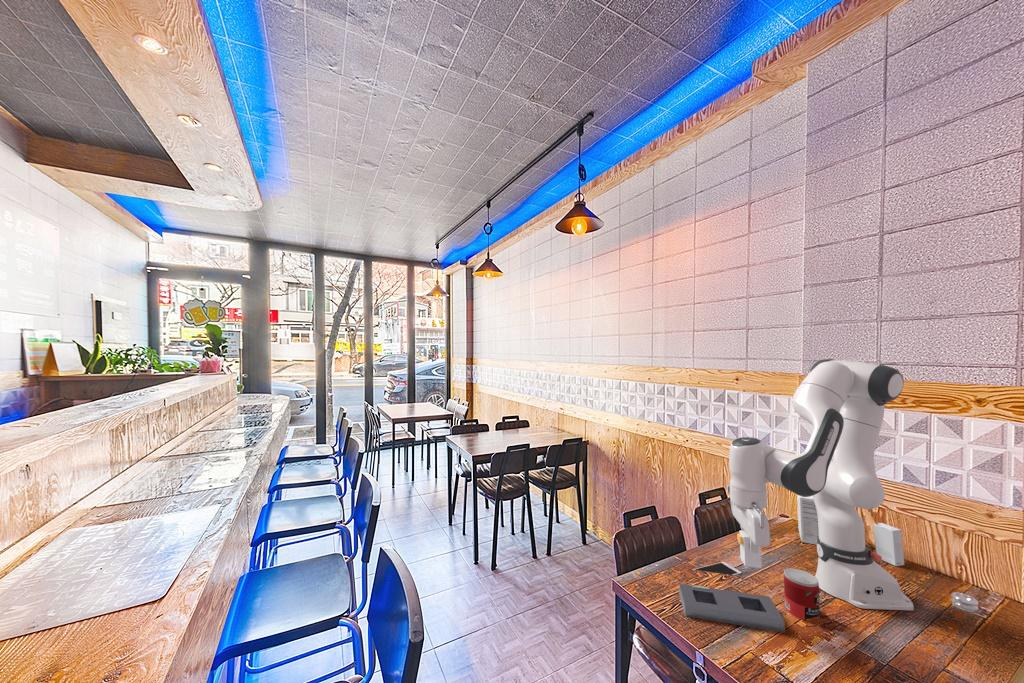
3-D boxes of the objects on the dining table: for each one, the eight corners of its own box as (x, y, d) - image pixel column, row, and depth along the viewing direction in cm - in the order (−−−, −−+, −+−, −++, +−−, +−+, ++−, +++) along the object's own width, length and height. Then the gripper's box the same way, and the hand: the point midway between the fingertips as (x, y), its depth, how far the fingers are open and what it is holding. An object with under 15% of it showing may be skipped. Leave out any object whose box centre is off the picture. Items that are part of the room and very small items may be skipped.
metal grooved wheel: (947, 603, 110) (972, 614, 105) (946, 592, 110) (971, 603, 106) (958, 600, 112) (983, 611, 107) (957, 590, 112) (982, 600, 107)
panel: (769, 610, 107) (769, 595, 108) (785, 635, 98) (784, 619, 98) (679, 597, 114) (679, 582, 114) (685, 619, 104) (685, 604, 104)
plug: (756, 560, 106) (755, 531, 106) (761, 568, 102) (760, 538, 103) (737, 558, 107) (736, 530, 108) (741, 565, 104) (740, 536, 104)
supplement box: (845, 551, 139) (843, 504, 140) (801, 542, 146) (799, 497, 147) (838, 537, 150) (837, 492, 151) (797, 528, 157) (796, 486, 158)
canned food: (811, 629, 100) (810, 587, 100) (779, 611, 107) (777, 572, 107) (826, 620, 103) (824, 579, 104) (793, 603, 111) (792, 565, 111)
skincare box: (905, 565, 130) (903, 529, 130) (895, 566, 129) (893, 531, 129) (884, 556, 136) (882, 522, 136) (874, 557, 135) (873, 523, 135)
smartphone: (689, 572, 127) (689, 569, 127) (723, 563, 132) (723, 561, 132) (707, 584, 120) (706, 581, 120) (742, 575, 126) (742, 572, 126)
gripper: (776, 512, 95) (778, 568, 94) (748, 485, 114) (750, 531, 114) (748, 510, 96) (750, 565, 96) (725, 483, 116) (727, 529, 115)
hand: (750, 546), depth 105 cm, fingers closed on plug, 4 cm apart
